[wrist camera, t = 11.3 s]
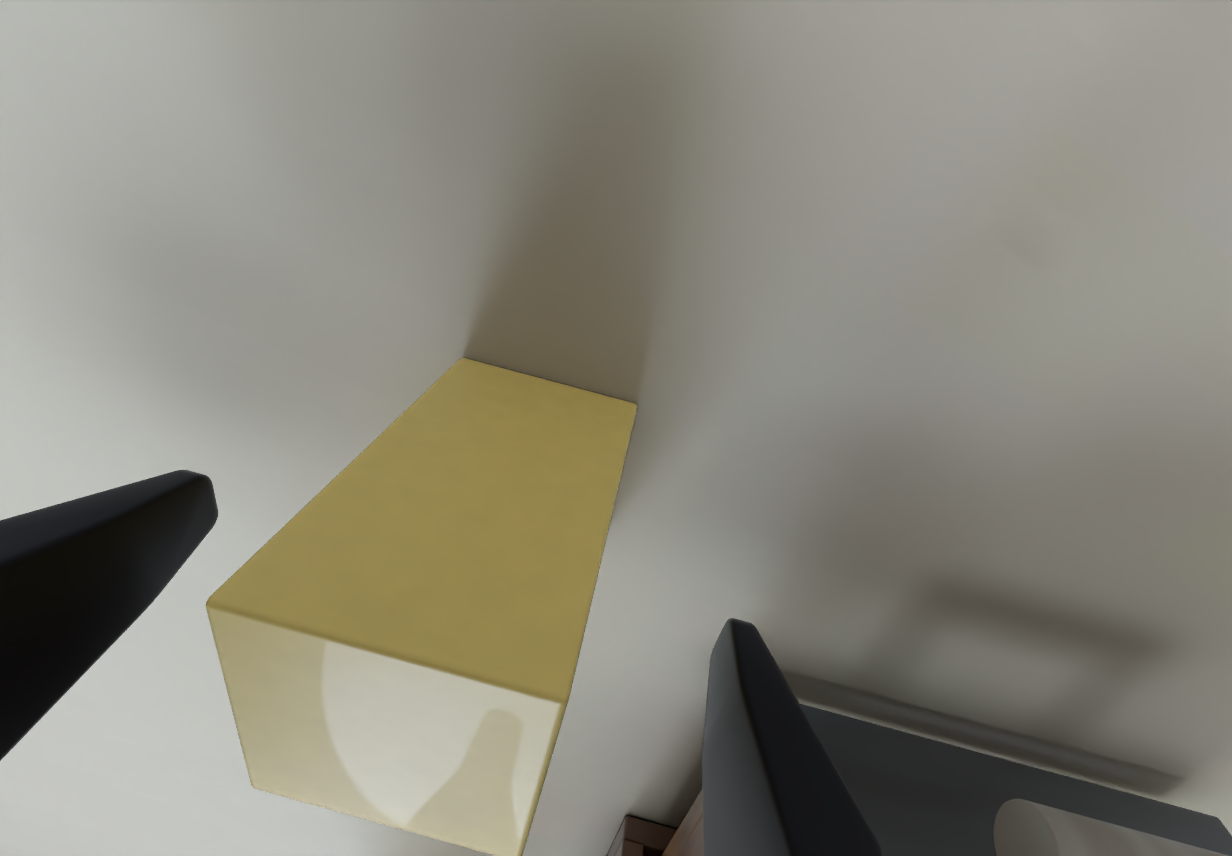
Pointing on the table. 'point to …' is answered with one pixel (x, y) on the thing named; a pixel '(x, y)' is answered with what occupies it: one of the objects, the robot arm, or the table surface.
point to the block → (430, 610)
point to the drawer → (984, 803)
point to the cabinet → (641, 838)
